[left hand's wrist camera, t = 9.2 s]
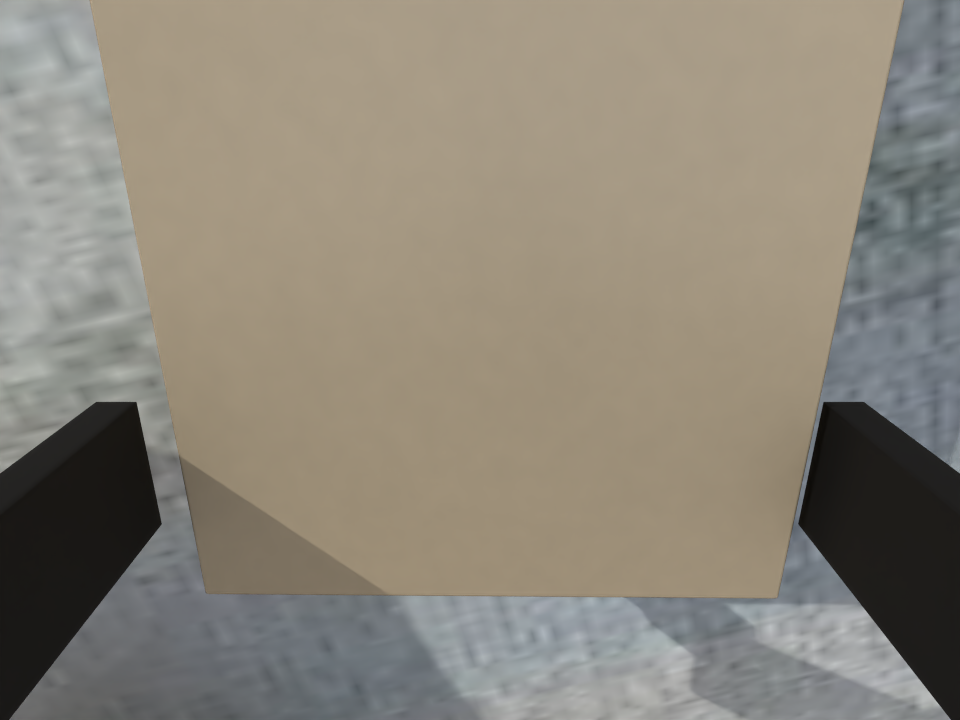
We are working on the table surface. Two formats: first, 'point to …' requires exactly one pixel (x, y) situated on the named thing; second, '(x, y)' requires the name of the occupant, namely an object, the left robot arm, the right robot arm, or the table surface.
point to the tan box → (495, 280)
